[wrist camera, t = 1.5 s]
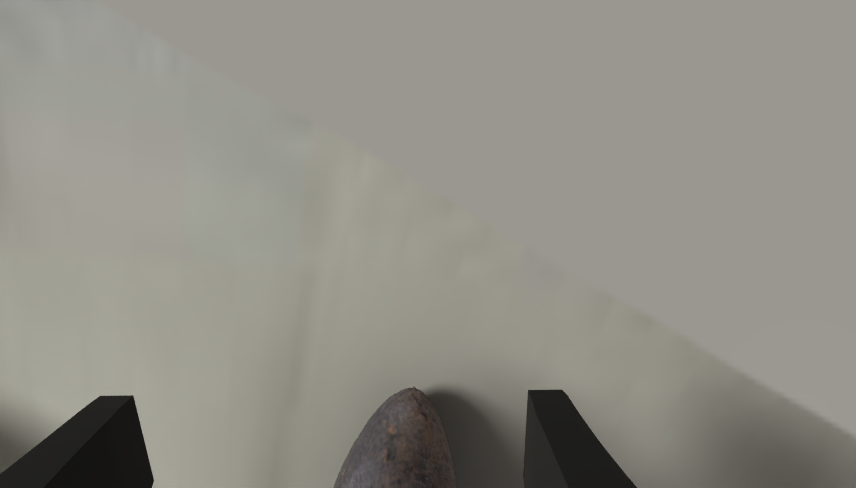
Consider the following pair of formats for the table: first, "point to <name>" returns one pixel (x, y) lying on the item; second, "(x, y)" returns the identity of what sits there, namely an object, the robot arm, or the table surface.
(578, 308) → the table surface
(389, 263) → the table surface
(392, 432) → the perforated stone tool
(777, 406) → the table surface
